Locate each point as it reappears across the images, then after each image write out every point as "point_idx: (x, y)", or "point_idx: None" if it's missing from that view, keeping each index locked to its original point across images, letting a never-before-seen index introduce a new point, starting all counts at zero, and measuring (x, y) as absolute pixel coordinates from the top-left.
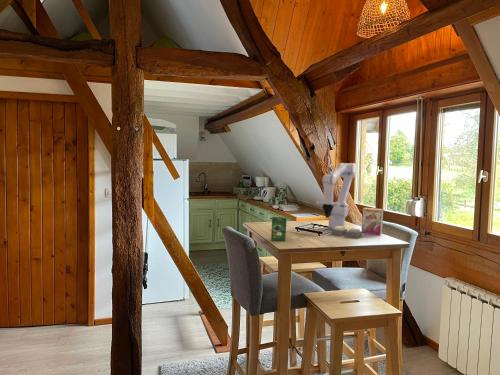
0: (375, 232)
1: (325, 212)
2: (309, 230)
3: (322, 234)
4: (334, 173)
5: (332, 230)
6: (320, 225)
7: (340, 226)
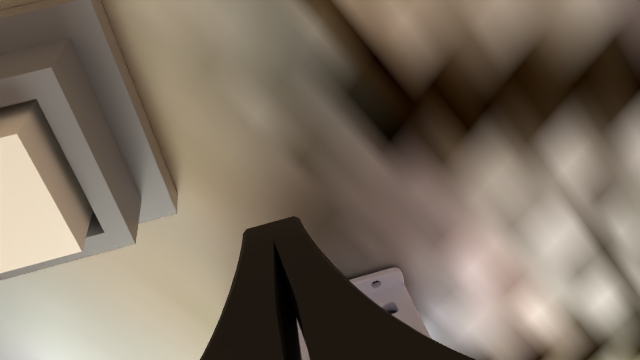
0: None
1: (318, 284)
2: (559, 93)
3: (289, 51)
4: None
5: (34, 64)
6: (587, 352)
7: (21, 257)
